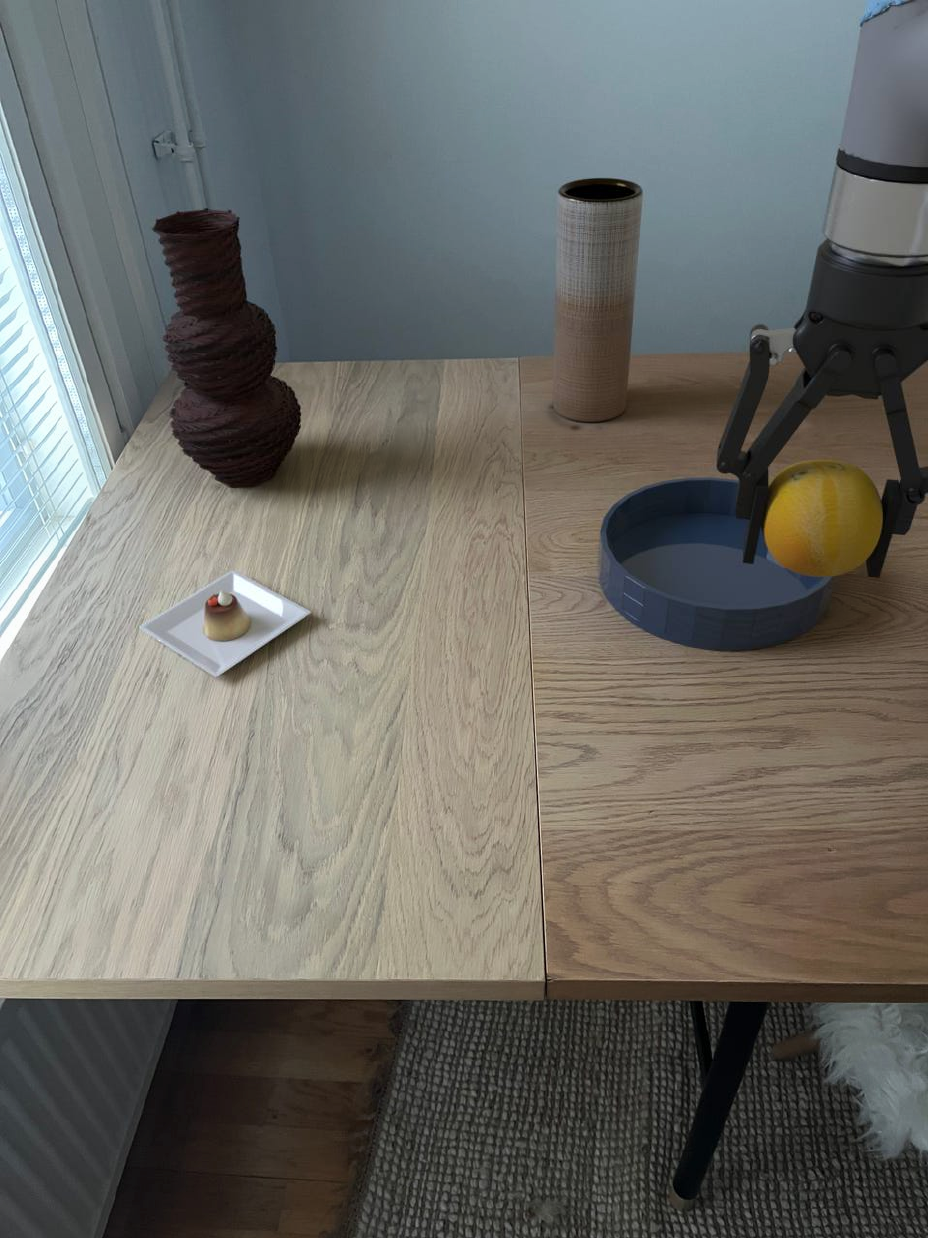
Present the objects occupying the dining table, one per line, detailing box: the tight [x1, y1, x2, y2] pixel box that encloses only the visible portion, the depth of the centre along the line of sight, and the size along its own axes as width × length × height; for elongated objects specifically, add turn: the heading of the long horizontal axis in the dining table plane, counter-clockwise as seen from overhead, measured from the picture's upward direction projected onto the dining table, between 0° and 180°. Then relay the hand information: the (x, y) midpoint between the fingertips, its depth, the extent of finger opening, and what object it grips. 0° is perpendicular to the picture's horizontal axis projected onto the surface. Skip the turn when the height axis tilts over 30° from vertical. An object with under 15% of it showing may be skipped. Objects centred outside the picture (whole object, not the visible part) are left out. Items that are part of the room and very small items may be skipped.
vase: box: [151, 207, 302, 488], centre depth 109 cm, size 15×15×30 cm
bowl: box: [597, 476, 837, 652], centre depth 96 cm, size 23×23×5 cm
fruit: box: [761, 459, 883, 577], centre depth 67 cm, size 9×8×8 cm
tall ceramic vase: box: [552, 177, 644, 423], centre depth 120 cm, size 10×10×28 cm
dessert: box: [138, 569, 312, 678], centre depth 92 cm, size 12×12×5 cm
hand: (809, 559), depth 70 cm, fingers closed on fruit, 8 cm apart
